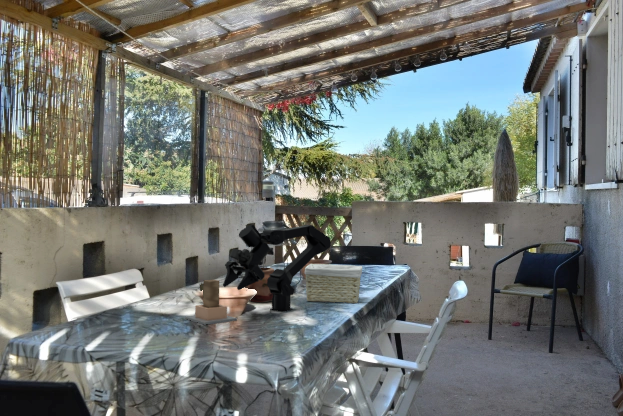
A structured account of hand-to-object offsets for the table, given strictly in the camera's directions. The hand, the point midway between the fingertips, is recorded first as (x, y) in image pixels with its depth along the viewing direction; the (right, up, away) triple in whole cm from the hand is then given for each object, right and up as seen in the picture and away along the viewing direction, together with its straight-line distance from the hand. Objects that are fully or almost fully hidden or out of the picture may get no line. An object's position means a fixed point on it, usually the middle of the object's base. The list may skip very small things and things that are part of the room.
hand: (230, 287), depth 218 cm
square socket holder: (-6, -11, -5) cm, 13 cm away
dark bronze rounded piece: (-13, -10, +30) cm, 35 cm away
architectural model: (0, -11, +68) cm, 69 cm away
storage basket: (+39, -11, +41) cm, 58 cm away
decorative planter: (+7, -11, +35) cm, 37 cm away
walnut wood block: (-6, -10, -5) cm, 13 cm away
